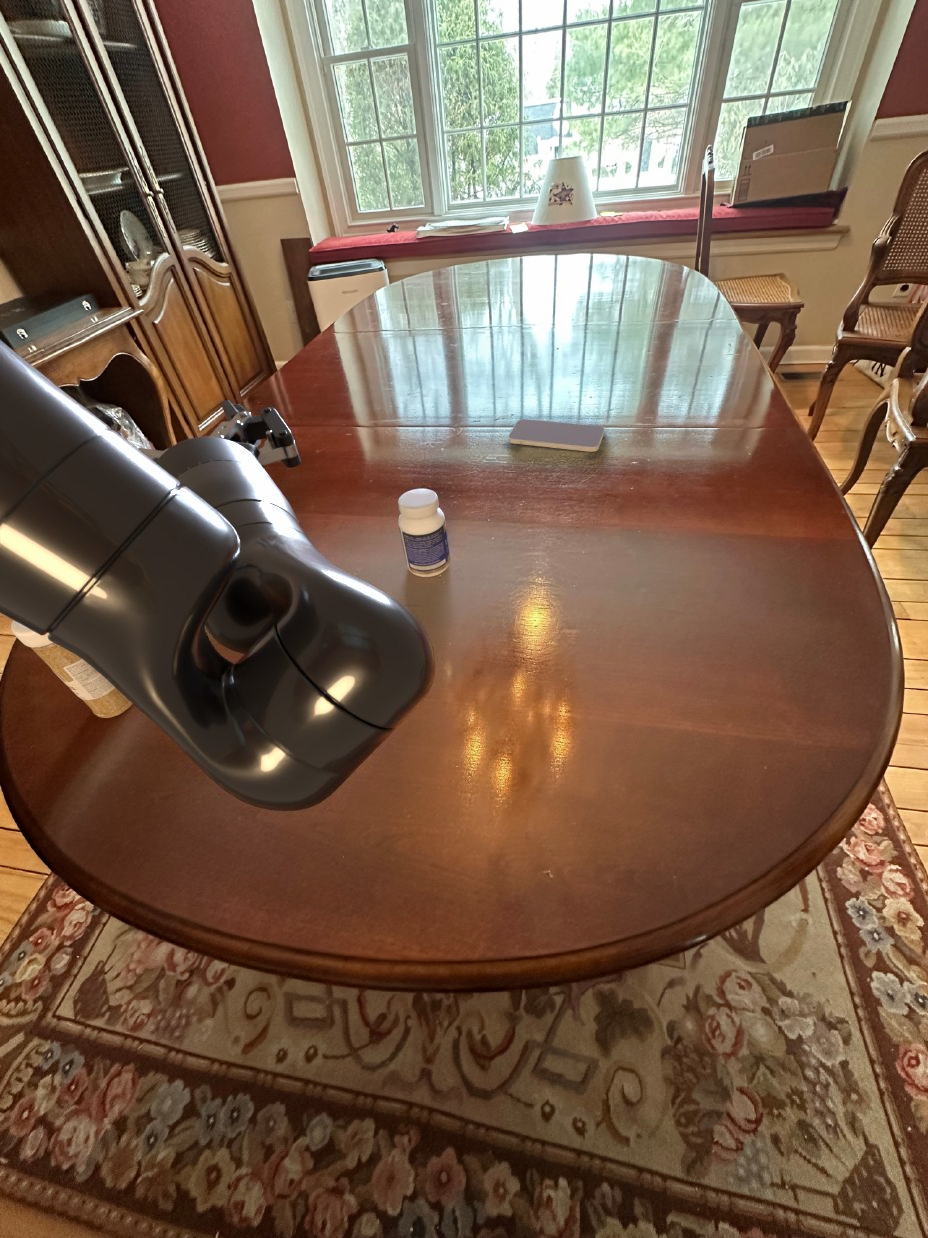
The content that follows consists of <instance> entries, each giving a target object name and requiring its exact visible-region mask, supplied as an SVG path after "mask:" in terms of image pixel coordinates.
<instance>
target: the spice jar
mask: <svg viewBox="0 0 928 1238" xmlns="http://www.w3.org/2000/svg"><path fill="white" fill-rule="evenodd" d="M10 630H11V632H12V634H13V635H14V636H15V637H16V638H17V639H18V640H19V641H20V642H21V643H22V644H23V645H24V646H26V647H29V648H30V649H31V650H32V651H33V652H34V653H35V654H36V655H37V656H38V657H39V658H40V659H41V660H42V661H43V662H44V663H45V664H46V665H47V666H48V667H49V668H50V669H51V670H52V672H53V673H54V674H55V675H56V676H57V677H58V678H59V679H60V680H61V681H62V682H63V684H64V685H66V687H68V688H69V690H71V692H73V693H74V694H75V695H76V696H77V697H78V698H79V699H81V700H82V701H83V702H84V704H86V705H87V707H89V708H90V709H91V711H92V713H93V715H95V716H96V717H98V718H101V719H109V718H110V719H111V718H114V717H116V716H119V715H121V714H123V713H124V712H125V711H127V710H128V709H130V708H131V707H132V705H134V704H133V703H132V702H131V701H129V700H128V699H127V698H126V697H125V696H124V695H123V694H122V693H121V692H120V691H119V690H118V689H116V688H115V687H114V686H113V685H112V684H111V683H110V682H109V681H108V680H107V679H106V678H105V677H104V676H102V675H101V674H100V673H99V672H98V671H96V670H95V669H94V668H93V667H92V666H91V665H89V664H88V663H87V662H86V661H84V660H83V659H81V658H80V657H78V656H77V655H75V654H74V653H72V652H70V651H68V650H67V649H65V648H63V647H61V646H59V645H57V644H55V643H53V642H51V641H50V640H49V639H48V635H49V633H46V634H45V635H42V636H41V635H39V634H38V633H36V632H34V631H32V630H30V629H29V628H27V627H25V626H23V625H21V624H20V623H18V622H16V621H14V620H12V621H11V625H10Z"/></svg>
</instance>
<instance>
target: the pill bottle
mask: <svg viewBox="0 0 928 1238" xmlns="http://www.w3.org/2000/svg"><path fill="white" fill-rule="evenodd" d="M397 502H398V503H397V504H398V511H399V513H400V514H399V516H398V518H397V519H398V520H397V525H398V530H399V534H400V539H401V545H402V549H403V554H404V559H405V563H406V568H407V569H408V571H409V572H410V573H411V574H413V575H414V576H417V577H421V578H431V577H435V576H438V575H440V574H442V573H443V572H445V571H446V570H447V569H448V568H449V566H450V563H451V555H450V554H451V553H450V546H449V539H448V532H447V524H446V523H447V522H446V517H445V514H444V512H443V511H442V509H441V508H440V507H439V506H440V503H439V497H438V495H437V493H436V492H435V491H434V490H432V489H428V488H415V489H411V490H408V491H406V492H404V493H403V494H401V495H400V496H399V498H398V501H397Z"/></svg>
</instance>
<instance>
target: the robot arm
mask: <svg viewBox="0 0 928 1238" xmlns="http://www.w3.org/2000/svg"><path fill="white" fill-rule="evenodd" d="M220 405H221V408H222V410H223V413H224V415H225V418H226V421H220V423H219V424H218V425H217V427H216V428H215V429H214V430H213V431H212V432H211V433H210V435H205V436H197V437H191V438H188V439H185V440H182V441H179V442H177V443H175V444H174V445H172V446H171V447H169V448H166V449H164V450H158V449H152V448H145V447H144V448H143V447H139V448H138V447H137V446H135V445H134V444H133V443H131V442H130V441H128V440H127V439H126V438H125V437H124V436H123V434H122V432H119V433H118V432H117V431H116V430H114V429H113V428H112V427H110V426H109V425H108V424H106V422H104V421H103V420H102V419H100V418H99V417H97V416H96V415H95V414H94V413H92V412H91V411H90V410H89V409H87V408H86V407H85V406H83V404H81V403H80V402H78V401H77V400H75V398H73V397H72V396H70V395H69V394H67V392H65V391H64V390H62V389H61V388H60V387H59V386H58V385H56V384H55V383H54V382H53V381H51V380H50V379H49V378H48V377H46V376H45V375H44V374H42V372H41V371H40V370H38V369H37V368H35V367H34V366H33V365H32V364H31V363H29V362H28V361H27V360H25V359H24V357H22V356H20V355H19V354H18V353H17V352H16V351H15V350H13V349H12V348H11V347H9V346H8V345H7V344H6V343H5V342H4V341H2V339H0V614H1V615H3V616H5V617H7V618H8V619H11V620H12V621H13V620H14V621H16V622H18V623H20V624H21V625H23V626H25V627H27V628H29V629H30V630H32V631H34V632H36V633H38V634H39V635H41V636H42V635H45V634H46V633H49V635H48V639H49V640H50V641H51V642H53V643H55V644H57V645H59V646H61V647H63V648H65V649H67V650H68V651H70V652H72V653H74V654H75V655H77V656H78V657H80V658H81V659H83V660H84V661H86V662H87V663H88V664H89V665H91V666H92V667H93V668H94V669H95V670H96V671H98V672H99V673H100V674H101V675H102V676H104V677H105V678H106V679H107V680H108V681H109V682H110V683H111V684H112V685H113V686H114V687H115V688H116V689H118V690H119V691H120V692H121V693H122V694H123V695H124V696H125V697H126V698H127V699H128V700H129V701H131V702H132V703H133V704H132V705H134V706H135V707H136V708H137V709H138V710H139V711H140V712H142V713H143V715H145V716H146V717H147V718H148V719H150V721H152V723H154V724H155V725H156V726H158V728H160V730H161V731H163V733H164V734H166V735H167V736H168V737H169V738H170V739H171V740H172V742H174V743H175V745H177V746H178V747H179V749H181V751H182V752H184V754H185V755H186V756H187V757H188V758H189V759H190V760H191V761H192V762H193V763H194V764H195V765H196V766H197V767H198V768H199V769H200V770H201V771H202V772H203V773H204V774H205V775H206V776H207V777H208V778H209V779H210V780H211V781H213V782H214V783H215V784H216V785H217V786H218V787H220V788H221V789H222V790H223V791H225V792H226V793H227V794H229V795H230V796H232V797H234V798H235V799H237V800H238V801H240V802H242V803H244V804H247V805H249V806H252V807H255V808H259V809H263V810H268V811H276V812H296V811H302V810H307V809H311V808H313V807H315V806H318V805H319V804H321V803H322V802H324V801H326V800H327V799H328V798H330V797H331V796H332V795H333V794H334V793H335V792H336V791H337V790H338V789H339V788H340V787H341V786H342V785H344V783H345V782H347V780H348V779H349V778H350V777H351V776H352V775H353V774H354V773H355V772H356V770H357V769H358V768H359V767H360V766H361V765H362V764H363V763H364V762H365V761H366V760H367V759H368V758H369V757H370V756H371V755H372V754H373V752H375V751H376V750H377V749H378V748H379V747H380V746H381V745H382V744H383V743H384V742H385V741H386V740H387V739H388V738H389V737H390V736H391V735H392V734H393V733H394V732H395V731H396V729H397V728H398V727H400V726H401V724H403V722H404V721H405V720H406V719H407V718H408V717H410V715H411V714H412V713H413V712H414V711H415V710H416V709H417V708H418V707H419V706H420V704H422V703H423V702H424V699H425V698H426V697H427V696H428V694H429V693H430V691H431V688H432V686H433V684H434V680H435V675H436V657H435V651H434V647H433V642H432V641H431V638H430V635H429V634H428V631H427V630H426V628H425V626H424V625H423V624H422V622H421V621H420V620H419V618H418V617H416V615H415V614H414V613H413V612H412V611H410V610H409V609H408V607H406V606H405V605H404V604H403V603H401V602H400V601H398V600H397V599H396V598H394V597H393V596H391V595H389V594H388V593H387V592H385V591H383V590H382V589H380V588H378V587H377V586H375V585H373V584H370V583H369V582H367V581H365V580H363V579H361V578H359V577H357V576H355V575H353V574H351V573H349V572H347V571H345V570H343V569H341V568H340V567H338V566H336V565H335V564H333V562H331V561H329V559H327V558H326V556H324V554H322V553H321V551H319V549H318V548H317V547H316V545H315V544H314V542H313V541H312V540H311V539H310V537H309V536H308V534H307V533H306V531H305V530H304V529H303V528H302V526H301V524H299V520H298V518H297V515H296V514H295V511H294V509H293V507H292V506H291V504H290V502H289V501H288V499H287V498H286V497H285V495H284V494H283V493H282V491H281V490H280V488H279V487H278V485H276V483H275V482H274V480H273V479H272V478H271V476H270V475H269V474H268V472H267V471H266V470H265V469H266V466H268V465H271V464H274V463H278V464H279V463H283V465H284V466H285V467H286V468H288V469H289V468H290V469H291V468H295V467H298V466H300V465H301V464H302V460H301V457H300V454H299V451H298V449H297V445H296V442H295V438H294V436H293V433H292V431H291V430H290V428H289V426H288V425H287V424H286V422H285V420H284V419H283V418H282V417H281V415H280V414H279V412H278V411H277V410H276V408H275V407H272V406H268V407H264V408H262V409H260V410H259V415H252V414H251V412H250V411H249V410H248V411H247V410H246V409H245V408H244V406H243V405H242V404H240V403H234V404H233V403H232V402H231V400H229V399H228V400H223V401H221V402H220ZM262 440H264V442H263V446H262V447H260V448H259V446H260V445H261V443H262ZM207 632H208V633H207ZM208 634H209V635H210V636H211V637H212V638H213V639H214V640H215V641H216V642H217V643H219V644H220V645H221V646H223V647H225V648H226V649H227V650H230V651H232V652H235V653H238V654H241V657H240V658H238V660H237V661H236V662H235V663H234V662H232V661H230V660H229V659H227V658H226V657H224V656H223V655H222V654H221V653H220V652H219V651H218V650H217V649H216V648H215V646H214V644H213V643H212V641H211V640H210V638H209V636H208Z"/></svg>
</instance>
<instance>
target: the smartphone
mask: <svg viewBox="0 0 928 1238" xmlns="http://www.w3.org/2000/svg"><path fill="white" fill-rule="evenodd" d="M605 433H606V428H605V427H604V426H602V425H595V424H594V425H593V424H583V423H573V422H562V421H551V420H541V419H540V420H539V419H530V418H521V419H518V420H516V422H515V423H514V426H513V427H512V428H511V431H510V432H509V433H508V435H507V436H508V437H507V438H508V439H507V440H508V443H511V444H515V445H524V446H525V445H526V446H535V447H543V448H554V449H560V450H561V449H563V450H571V451H581V452H590V453H592V452H593V453H594V452H597V451H599V449H600V446H601V444H602V441H603V439H604V436H605Z"/></svg>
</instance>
